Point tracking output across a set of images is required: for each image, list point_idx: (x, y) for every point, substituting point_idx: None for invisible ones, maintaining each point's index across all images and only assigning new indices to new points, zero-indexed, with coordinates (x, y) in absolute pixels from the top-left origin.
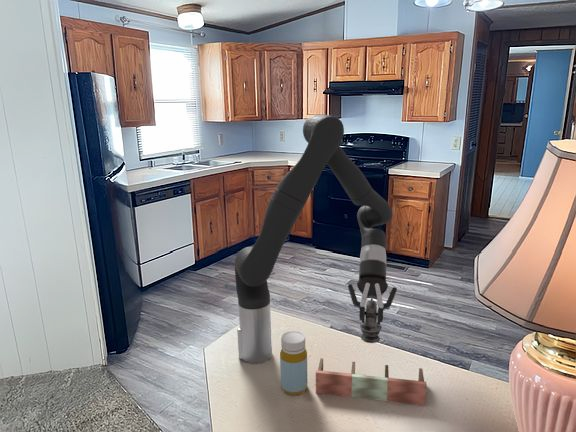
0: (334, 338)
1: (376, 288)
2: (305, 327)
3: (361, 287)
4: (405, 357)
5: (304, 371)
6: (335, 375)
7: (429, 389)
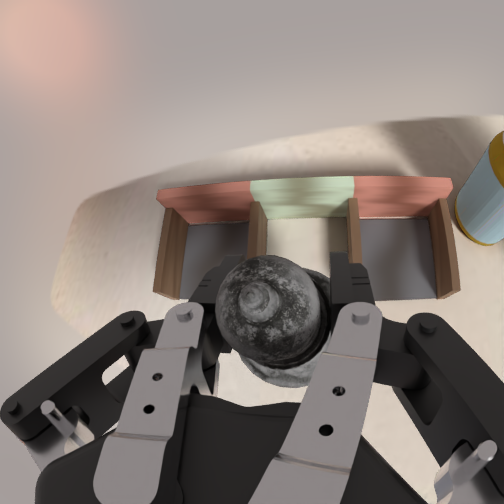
0: (410, 477)
1: (150, 443)
2: None
3: (393, 495)
4: None
5: (475, 170)
6: (399, 177)
7: None
